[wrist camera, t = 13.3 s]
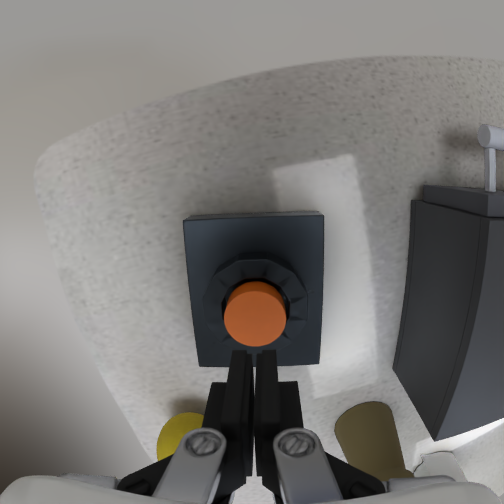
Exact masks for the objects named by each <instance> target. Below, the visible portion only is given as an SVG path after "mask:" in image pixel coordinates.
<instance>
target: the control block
mask: <svg viewBox="0 0 504 504" xmlns="http://www.w3.org/2000/svg"><path fill="white" fill-rule="evenodd" d="M183 230H184V242H185V253H186V264H187V274H188V283H189V292H190V301H191V310H192V318H193V326H194V333H195V341H196V348H197V355H198V362H199V366H200V367H230V361H231V355H232V350H247V354H252V356H253V367H256V357H257V353H262V350H270V349H276V354H277V366H295V365H313V364H319V360H320V345H321V327H322V306H323V275H324V215H323V214H321V213H320V212H318V211H299V212H265V213H238V214H216V215H196V216H189V217H188V218H186V219H185V220H183ZM252 281H259V282H264V283H267V284H269V285H271V286H273V287H274V288H275V289H276V290H277V291H278V292H279V293H280V294H281V296H282V298H283V301H284V306H285V312H286V325H285V328H284V330H283V332H282V333H281V335H280V336H279V337H278V338H277V339H276V340H274V341H273V342H271V343H269V344H267V345H263V346H248V345H244V344H242V343H240V342H238V341H236V340H235V339H234V338H233V337H232V336H231V335H230V334H229V333H228V331H227V329H226V327H225V323H224V313H225V309H226V306H227V302H228V299H229V296H230V295H231V293H232V292H233V291H234V290H235V289H236V288H237V287H238V286H240V285H242V284H244V283H247V282H252Z"/></svg>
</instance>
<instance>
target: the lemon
mask: <svg viewBox="0 0 504 504" xmlns="http://www.w3.org/2000/svg"><path fill="white" fill-rule="evenodd" d="M203 418H204V415H202V414H199V413H193V412H186V413H181V414H178V415H176V416H174V417H172V418H171V419H170V420H169V421H168V422H167V423H166V424H165V425H164V426H163V428H162V430H161V432H160V435H159V437H158V441H157V459H158V461H160V460H162V459H164V458H166V457H168V456H170V455H172V454H174V453H175V451H176V449H177V447H178V445H179V443H180V441H181V439H182V438H183V436H184V435H185V434H186V433H188V432H189V431H191V430H194V429H197V428H201V427H202V422H203Z"/></svg>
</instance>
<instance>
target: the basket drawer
mask: <svg viewBox="0 0 504 504" xmlns="http://www.w3.org/2000/svg"><path fill="white" fill-rule="evenodd" d="M477 137H478V141H479V144H480V145H481V146H482V147H484V153H485V189H480V188H468V187H453V186H437V185H424V186H423V201H425V202H429V203H434V204H438V205H442V206H447V207H451V208H455V209H459V210H463V211H467V212H471V213H474V214H478V215H482V216H486V217H503V218H504V191H502V190H496V155H495V149H496V150H501V151H504V128H499V127H495V126H491V125H487V124H482V125H481V126H480V127H479V129H478V133H477Z"/></svg>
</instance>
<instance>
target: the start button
mask: <svg viewBox="0 0 504 504" xmlns="http://www.w3.org/2000/svg"><path fill="white" fill-rule="evenodd" d="M224 323H225V327H226V329H227V331H228V333H229V334H230V335H231V336H232V337H233V338H234V339H235V340H236V341H238V342H240V343H242V344H244V345H248V346H263V345H267V344H269V343H271V342H273V341H274V340H276V339H277V338H278V337H279V336H280V335H281V333H282V332H283V330H284V328H285V325H286V312H285V306H284V301H283V298H282V296H281V294H280V293H279V292H278V291H277V290H276V289H275V288H274V287H273V286H271V285H269V284H267V283H264V282H259V281H252V282H247V283H244V284H242V285H240V286H238V287H237V288H236V289H235V290H234V291H233V292H232V293H231V295H230V296H229V299H228V302H227V306H226V309H225V313H224Z"/></svg>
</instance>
